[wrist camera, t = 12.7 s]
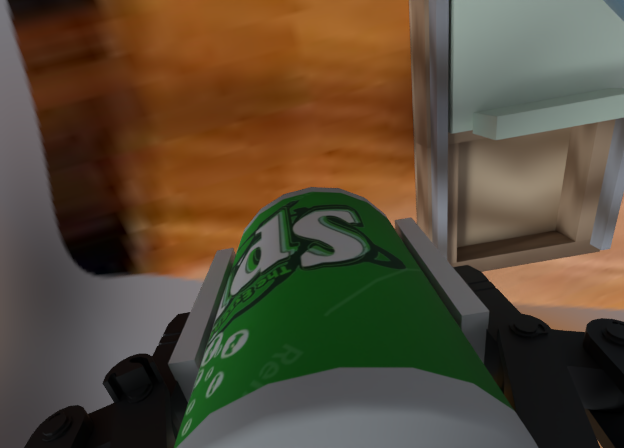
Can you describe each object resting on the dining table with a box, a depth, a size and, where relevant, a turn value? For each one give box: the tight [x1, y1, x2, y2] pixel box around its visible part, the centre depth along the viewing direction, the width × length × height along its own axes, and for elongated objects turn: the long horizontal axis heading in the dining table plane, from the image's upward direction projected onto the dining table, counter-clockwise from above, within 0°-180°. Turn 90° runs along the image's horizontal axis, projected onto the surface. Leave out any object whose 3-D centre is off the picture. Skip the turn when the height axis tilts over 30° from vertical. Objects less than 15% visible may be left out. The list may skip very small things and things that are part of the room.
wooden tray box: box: [409, 0, 624, 272], centre depth 27 cm, size 23×16×4 cm
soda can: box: [174, 187, 538, 448], centre depth 11 cm, size 8×8×12 cm
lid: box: [448, 0, 624, 140], centre depth 21 cm, size 12×13×4 cm
